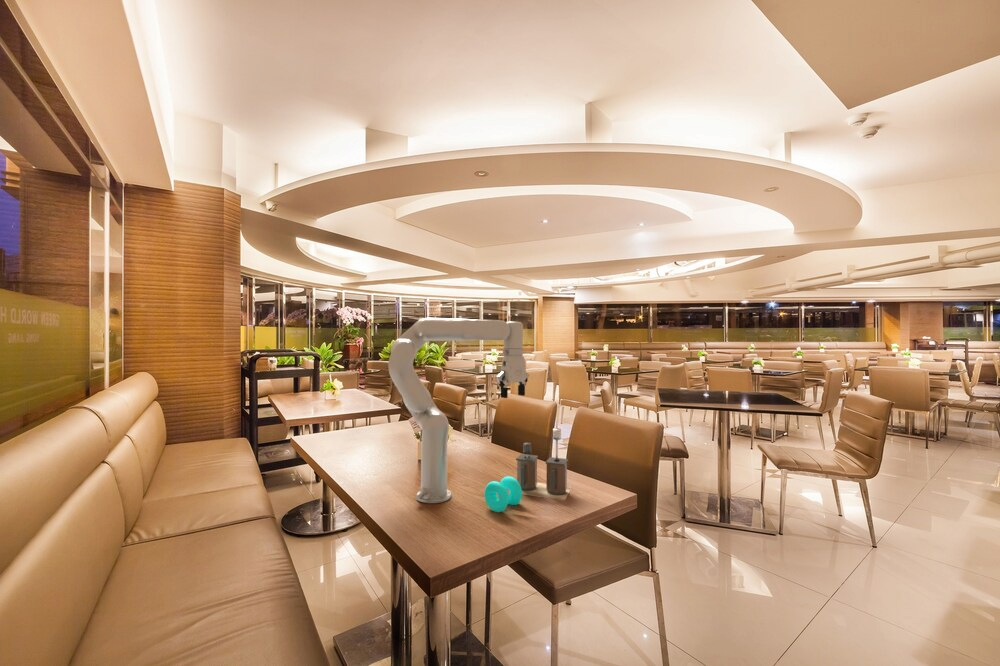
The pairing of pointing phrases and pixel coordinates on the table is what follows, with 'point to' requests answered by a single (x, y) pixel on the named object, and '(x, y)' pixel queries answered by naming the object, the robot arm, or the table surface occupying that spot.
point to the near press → (556, 476)
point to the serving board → (545, 492)
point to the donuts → (503, 493)
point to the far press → (527, 469)
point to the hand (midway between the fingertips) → (512, 396)
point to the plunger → (556, 437)
